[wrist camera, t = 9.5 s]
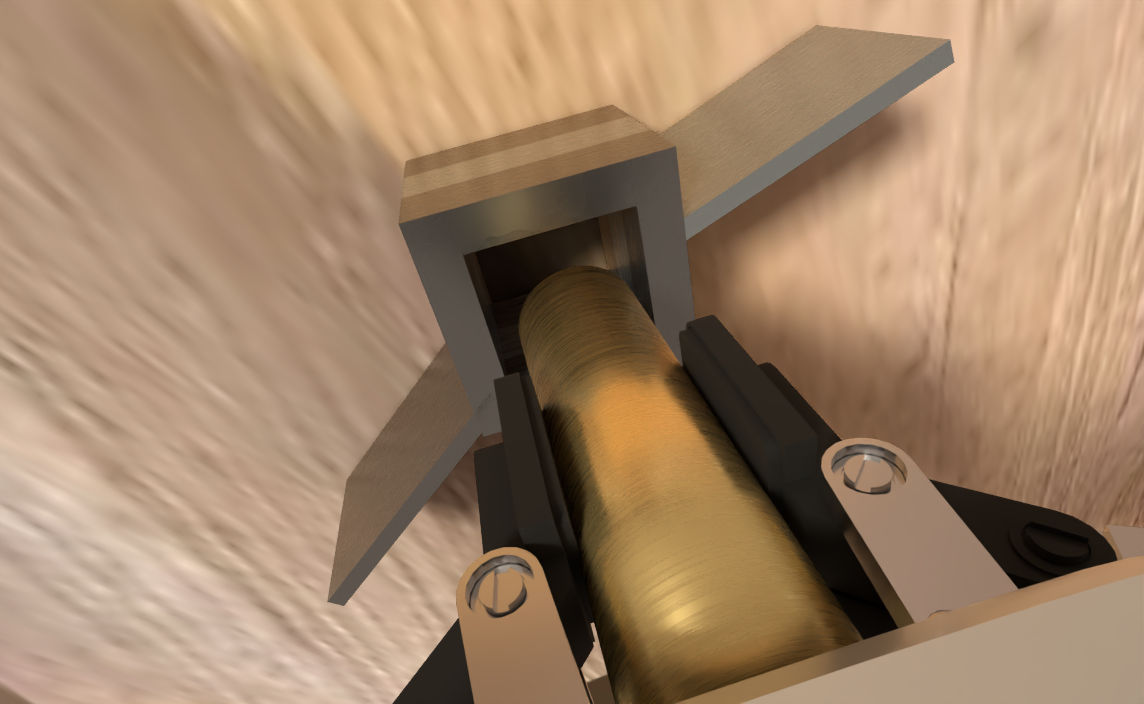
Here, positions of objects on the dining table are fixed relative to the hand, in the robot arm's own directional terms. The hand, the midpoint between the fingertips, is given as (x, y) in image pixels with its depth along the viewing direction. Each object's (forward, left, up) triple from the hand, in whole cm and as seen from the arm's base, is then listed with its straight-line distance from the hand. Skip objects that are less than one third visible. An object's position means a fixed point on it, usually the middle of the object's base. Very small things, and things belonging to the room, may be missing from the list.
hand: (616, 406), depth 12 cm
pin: (0, 0, -4) cm, 4 cm away
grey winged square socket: (0, +2, -11) cm, 11 cm away
